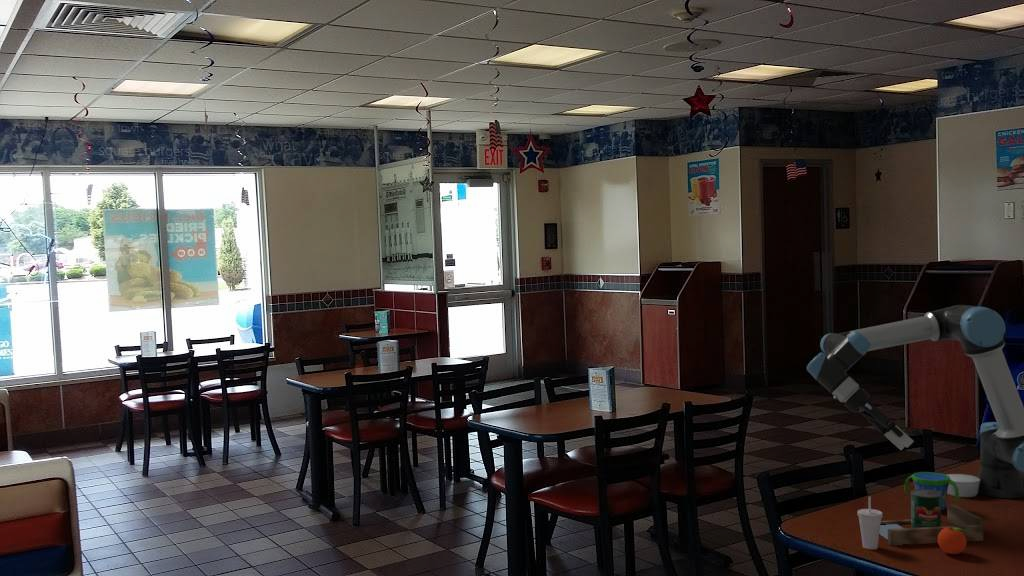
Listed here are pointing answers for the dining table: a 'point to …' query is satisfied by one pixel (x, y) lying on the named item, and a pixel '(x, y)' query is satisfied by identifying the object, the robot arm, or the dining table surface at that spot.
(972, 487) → the ramekin
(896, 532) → the bay
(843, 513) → the dining table surface
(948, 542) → the clementine
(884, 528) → the front pad
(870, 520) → the smoothie
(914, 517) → the canned tomato
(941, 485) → the snack cup
